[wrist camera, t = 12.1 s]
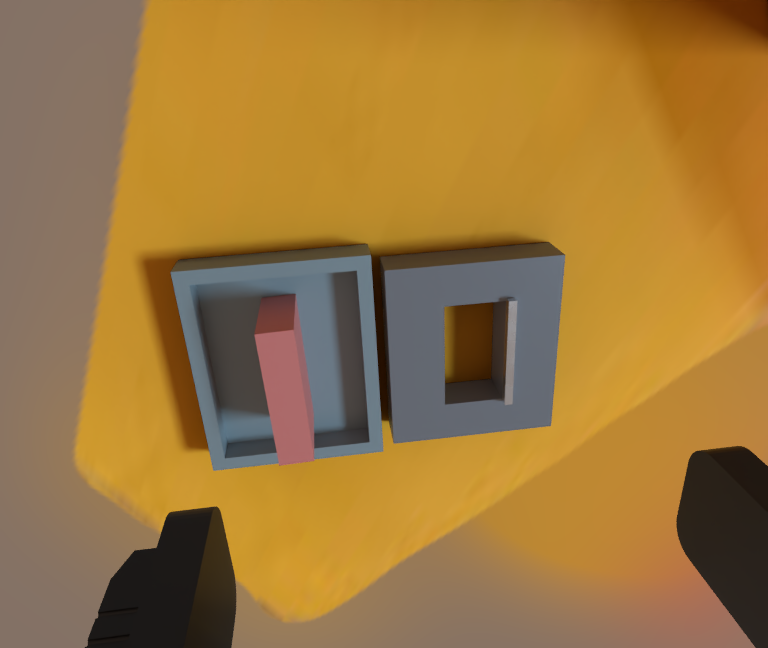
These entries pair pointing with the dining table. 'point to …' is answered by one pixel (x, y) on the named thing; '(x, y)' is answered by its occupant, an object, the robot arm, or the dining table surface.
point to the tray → (320, 339)
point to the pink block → (285, 378)
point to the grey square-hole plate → (509, 340)
